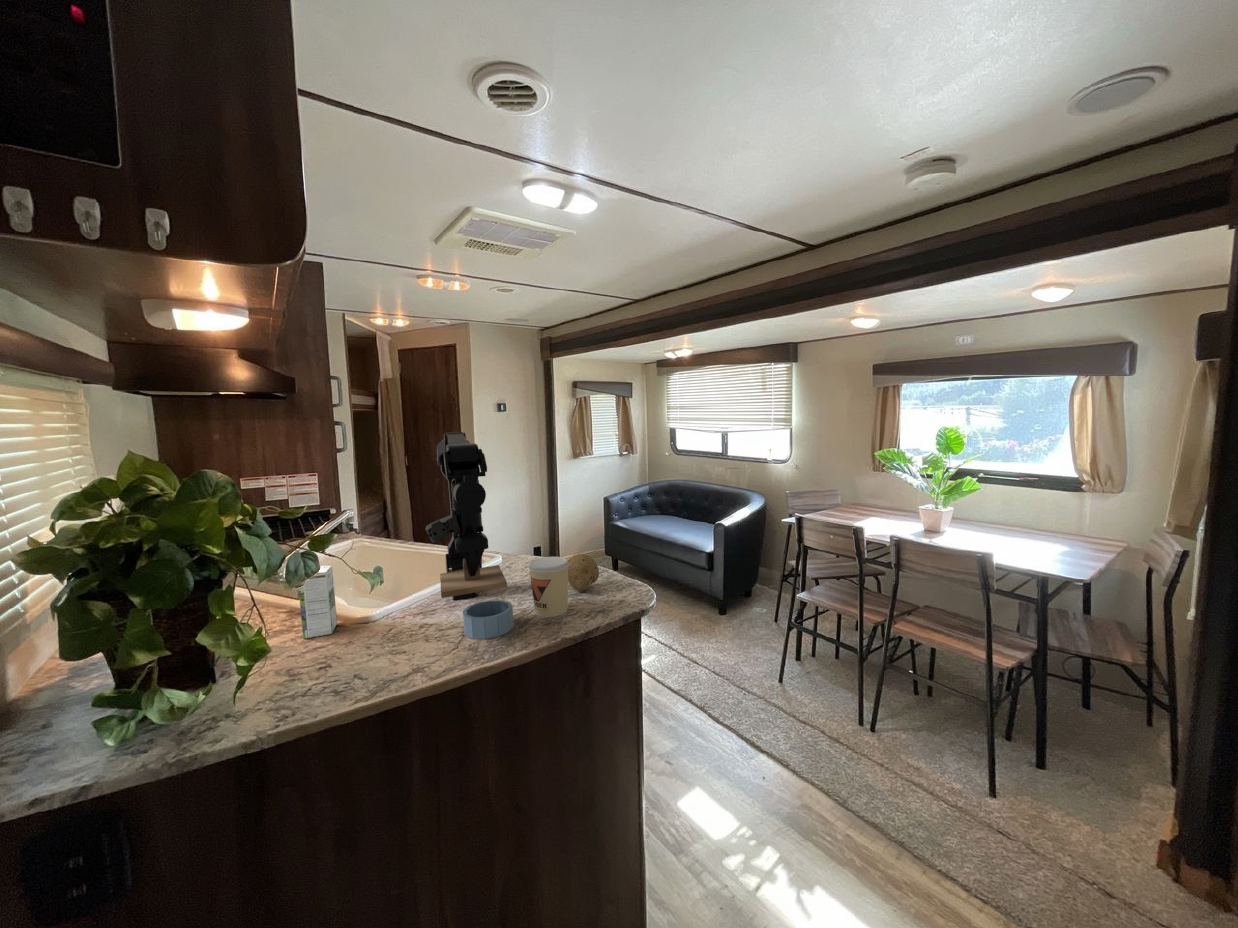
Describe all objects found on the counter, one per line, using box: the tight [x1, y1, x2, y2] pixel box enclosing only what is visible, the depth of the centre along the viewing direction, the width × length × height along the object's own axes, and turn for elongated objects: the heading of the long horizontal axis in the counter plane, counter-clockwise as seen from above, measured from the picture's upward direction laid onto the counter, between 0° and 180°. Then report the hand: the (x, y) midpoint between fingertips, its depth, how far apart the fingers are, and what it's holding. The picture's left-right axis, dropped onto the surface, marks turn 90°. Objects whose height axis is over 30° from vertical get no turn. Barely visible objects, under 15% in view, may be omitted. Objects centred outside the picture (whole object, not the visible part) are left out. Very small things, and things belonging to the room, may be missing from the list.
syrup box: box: [298, 565, 338, 639], centre depth 108 cm, size 6×6×14 cm
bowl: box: [462, 599, 515, 640], centre depth 106 cm, size 10×10×4 cm
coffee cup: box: [528, 556, 569, 618], centre depth 114 cm, size 9×9×12 cm
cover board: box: [439, 559, 508, 599], centre depth 104 cm, size 13×13×5 cm
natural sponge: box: [567, 553, 600, 593], centre depth 127 cm, size 9×9×10 cm
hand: (472, 573), depth 104 cm, fingers closed on cover board, 3 cm apart
